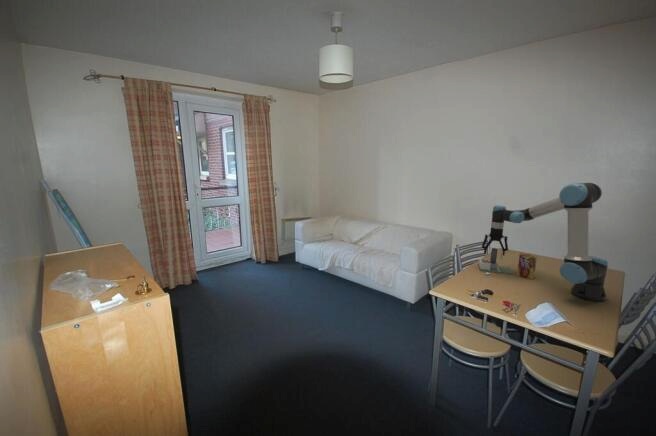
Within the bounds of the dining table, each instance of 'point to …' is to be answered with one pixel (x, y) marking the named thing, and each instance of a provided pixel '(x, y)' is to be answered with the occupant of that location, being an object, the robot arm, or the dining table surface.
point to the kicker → (493, 259)
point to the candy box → (526, 265)
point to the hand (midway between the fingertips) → (493, 258)
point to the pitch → (499, 269)
